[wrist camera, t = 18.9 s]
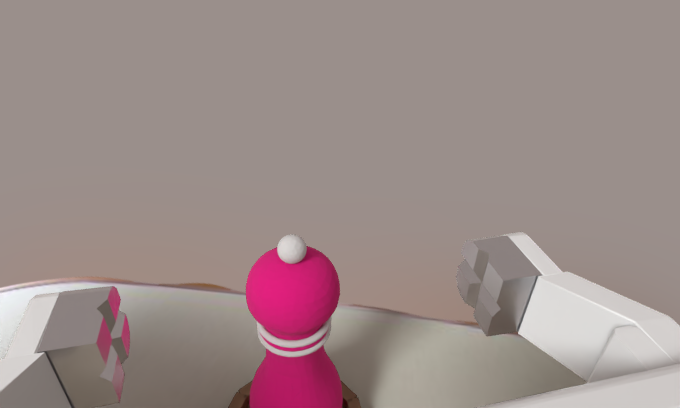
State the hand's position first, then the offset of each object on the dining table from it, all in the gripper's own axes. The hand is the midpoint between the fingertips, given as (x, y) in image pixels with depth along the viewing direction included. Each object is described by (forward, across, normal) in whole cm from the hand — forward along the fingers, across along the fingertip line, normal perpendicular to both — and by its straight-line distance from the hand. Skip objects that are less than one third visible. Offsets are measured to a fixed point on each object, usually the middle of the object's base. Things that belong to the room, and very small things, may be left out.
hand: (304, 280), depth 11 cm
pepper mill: (+14, +1, -29) cm, 32 cm away
